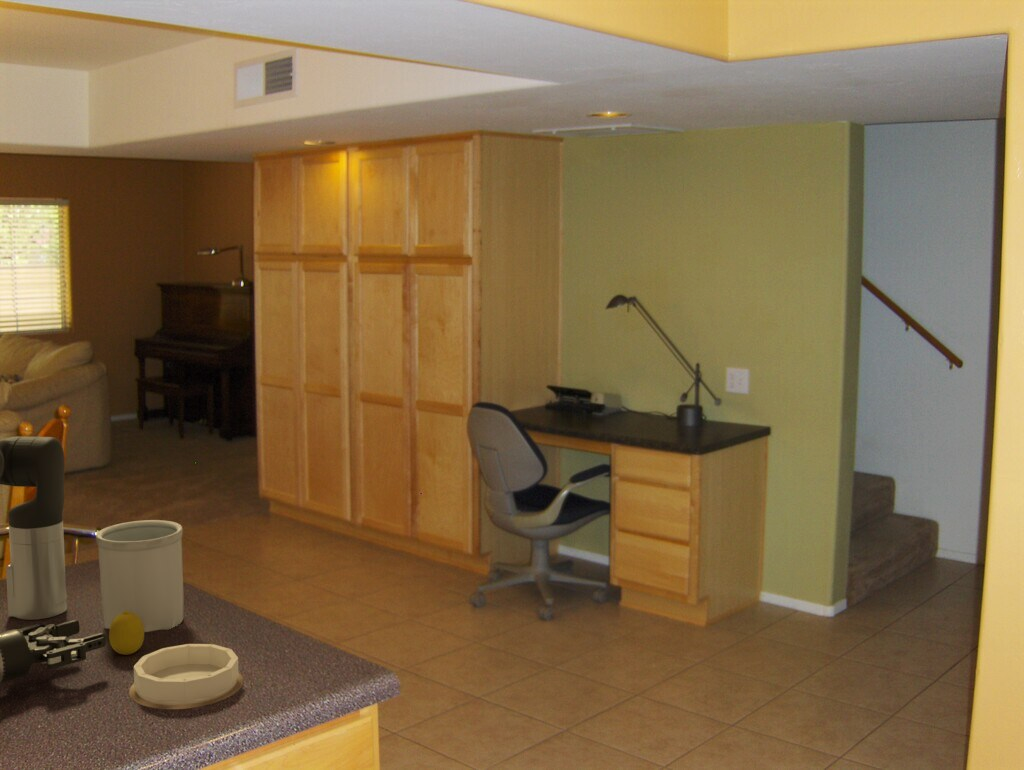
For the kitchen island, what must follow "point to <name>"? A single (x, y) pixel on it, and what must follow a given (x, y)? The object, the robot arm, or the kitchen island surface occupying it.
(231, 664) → the bowl
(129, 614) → the lemon
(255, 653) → the kitchen island surface
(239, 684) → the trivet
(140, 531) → the utensil holder
